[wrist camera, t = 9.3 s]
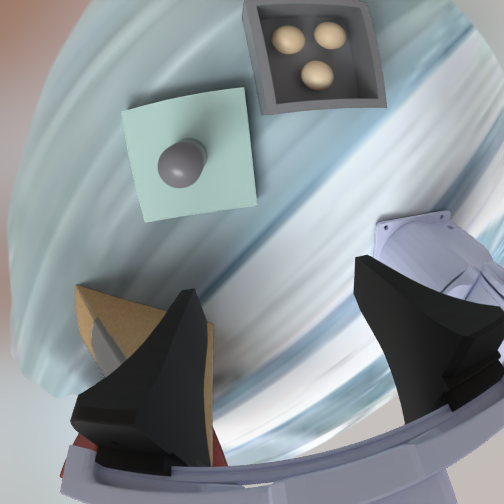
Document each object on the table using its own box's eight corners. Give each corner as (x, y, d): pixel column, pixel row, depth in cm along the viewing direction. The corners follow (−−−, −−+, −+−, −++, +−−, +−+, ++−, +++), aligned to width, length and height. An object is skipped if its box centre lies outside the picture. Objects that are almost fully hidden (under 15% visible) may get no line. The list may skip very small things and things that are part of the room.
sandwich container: (73, 280, 23) (6, 401, 10) (215, 321, 26) (214, 467, 13) (79, 334, 27) (38, 439, 14) (197, 368, 30) (193, 484, 17)
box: (346, 14, 13) (366, 1, 10) (363, 106, 17) (387, 107, 14) (241, 16, 13) (244, -1, 10) (261, 114, 17) (268, 115, 14)
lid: (243, 88, 16) (247, 80, 12) (255, 200, 21) (262, 225, 16) (127, 111, 16) (99, 113, 12) (149, 216, 21) (130, 244, 16)
